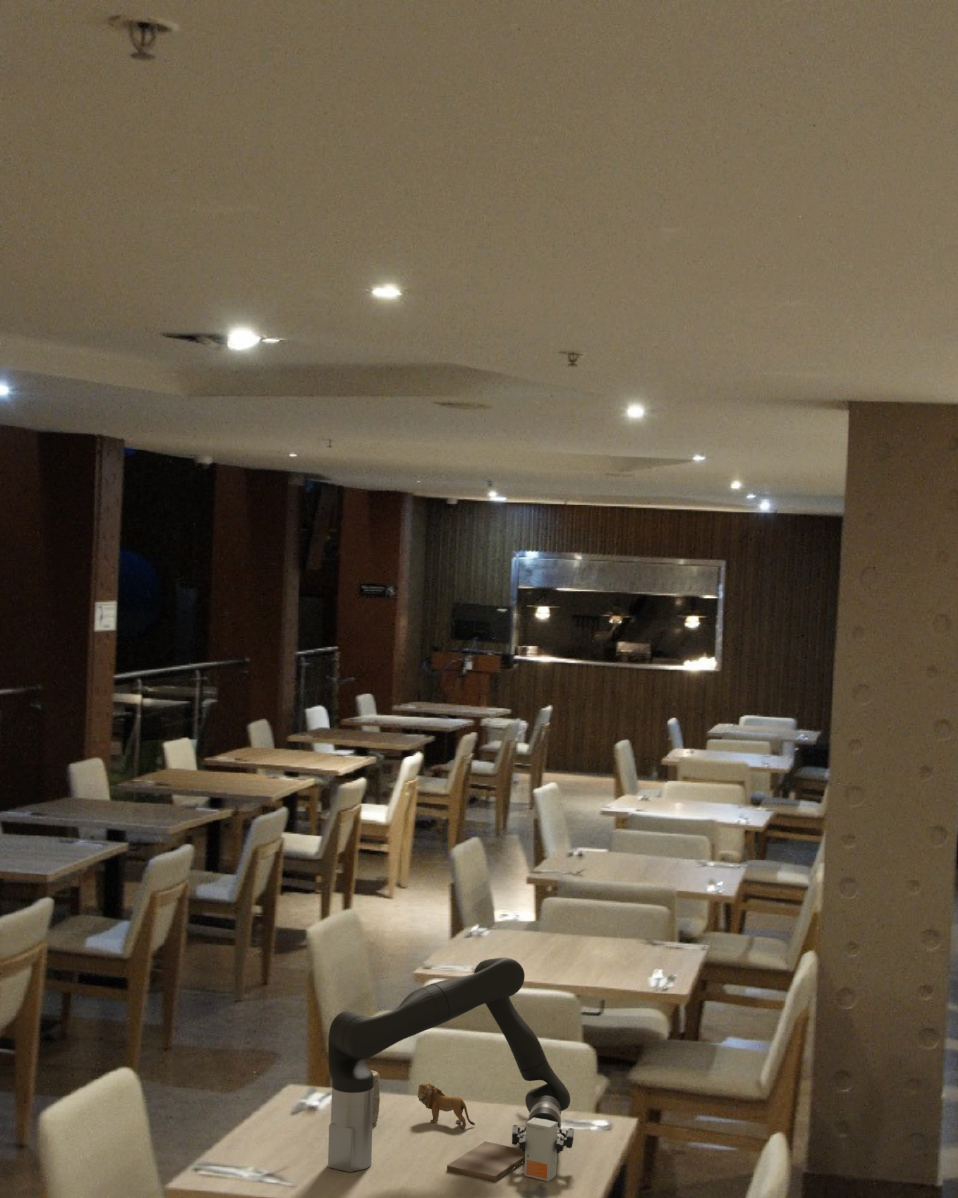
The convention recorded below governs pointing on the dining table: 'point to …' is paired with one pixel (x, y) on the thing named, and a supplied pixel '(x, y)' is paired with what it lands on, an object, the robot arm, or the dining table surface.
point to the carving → (376, 1096)
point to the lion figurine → (442, 1103)
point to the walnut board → (488, 1161)
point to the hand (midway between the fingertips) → (540, 1148)
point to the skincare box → (541, 1149)
